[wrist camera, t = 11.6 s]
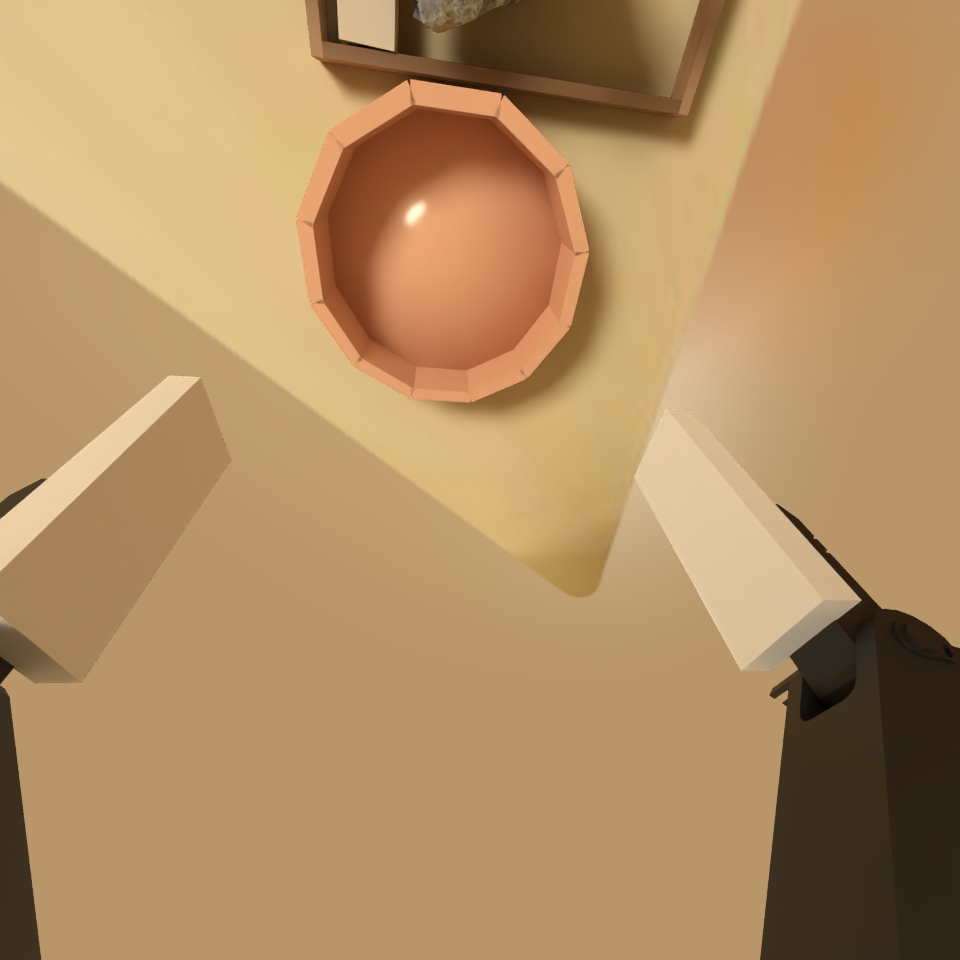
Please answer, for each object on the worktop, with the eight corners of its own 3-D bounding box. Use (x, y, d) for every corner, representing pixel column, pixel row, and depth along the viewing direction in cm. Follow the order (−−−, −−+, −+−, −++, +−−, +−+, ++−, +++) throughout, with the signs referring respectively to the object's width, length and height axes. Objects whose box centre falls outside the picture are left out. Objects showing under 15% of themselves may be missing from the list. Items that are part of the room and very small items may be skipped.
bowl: (297, 69, 22) (269, 57, 19) (599, 116, 25) (624, 112, 21) (336, 367, 34) (323, 393, 30) (540, 382, 36) (550, 407, 32)
